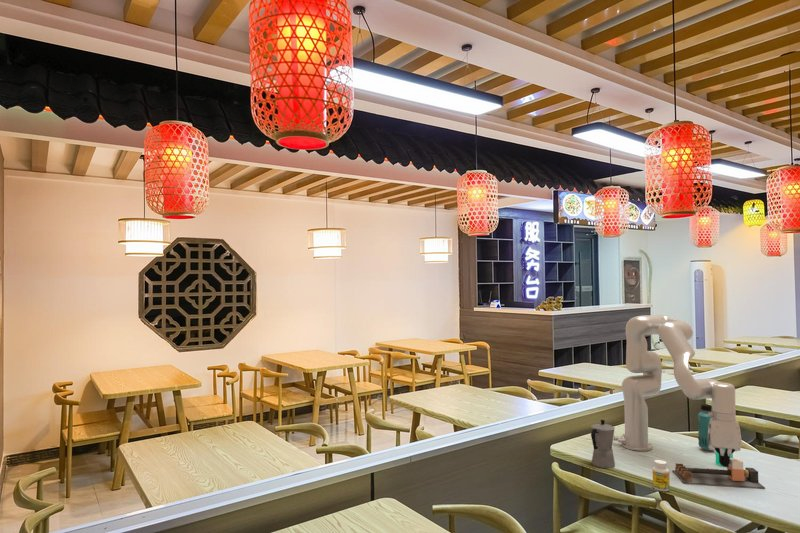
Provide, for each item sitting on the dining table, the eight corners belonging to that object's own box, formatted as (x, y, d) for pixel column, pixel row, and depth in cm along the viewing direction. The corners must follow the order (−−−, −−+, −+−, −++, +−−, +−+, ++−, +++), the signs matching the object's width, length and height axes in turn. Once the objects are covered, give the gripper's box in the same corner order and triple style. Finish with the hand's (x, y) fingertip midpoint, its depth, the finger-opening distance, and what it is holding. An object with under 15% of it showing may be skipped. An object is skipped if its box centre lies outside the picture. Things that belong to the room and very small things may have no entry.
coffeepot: (600, 457, 216) (599, 414, 216) (622, 463, 209) (621, 419, 209) (581, 466, 206) (580, 421, 206) (603, 473, 199) (603, 426, 199)
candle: (730, 462, 209) (730, 433, 210) (734, 467, 204) (734, 437, 204) (713, 461, 211) (713, 431, 212) (717, 466, 206) (717, 436, 206)
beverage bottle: (710, 448, 227) (710, 403, 228) (718, 453, 221) (717, 406, 221) (695, 447, 228) (694, 402, 228) (702, 452, 221) (702, 406, 222)
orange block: (732, 480, 189) (732, 461, 189) (727, 476, 193) (727, 457, 193) (744, 481, 188) (744, 462, 188) (739, 476, 192) (738, 458, 192)
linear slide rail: (683, 483, 188) (683, 471, 188) (672, 471, 200) (672, 459, 200) (764, 489, 183) (764, 476, 183) (748, 476, 195) (748, 464, 195)
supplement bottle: (668, 486, 185) (668, 460, 185) (670, 492, 180) (670, 465, 180) (652, 484, 187) (651, 458, 187) (653, 490, 182) (653, 463, 182)
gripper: (705, 418, 189) (706, 468, 189) (750, 420, 186) (751, 470, 186) (698, 412, 197) (698, 460, 196) (740, 414, 194) (741, 463, 193)
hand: (724, 465), depth 191 cm, fingers closed
